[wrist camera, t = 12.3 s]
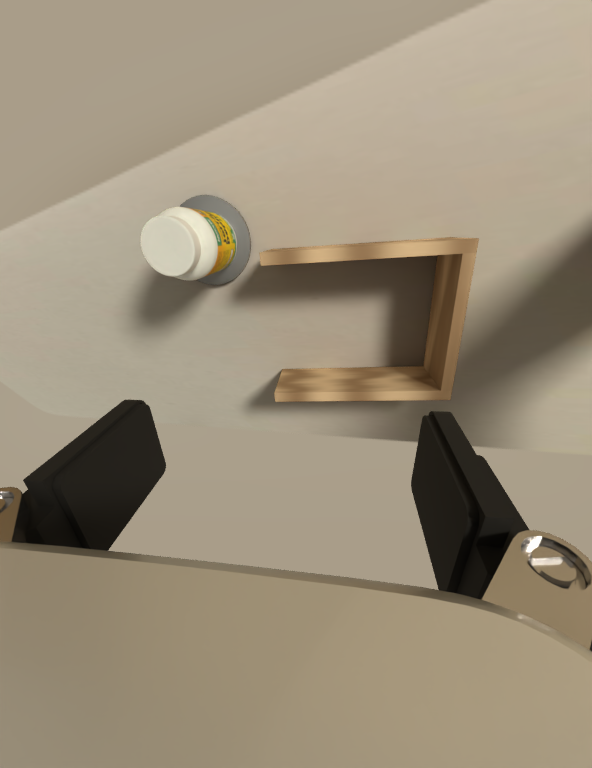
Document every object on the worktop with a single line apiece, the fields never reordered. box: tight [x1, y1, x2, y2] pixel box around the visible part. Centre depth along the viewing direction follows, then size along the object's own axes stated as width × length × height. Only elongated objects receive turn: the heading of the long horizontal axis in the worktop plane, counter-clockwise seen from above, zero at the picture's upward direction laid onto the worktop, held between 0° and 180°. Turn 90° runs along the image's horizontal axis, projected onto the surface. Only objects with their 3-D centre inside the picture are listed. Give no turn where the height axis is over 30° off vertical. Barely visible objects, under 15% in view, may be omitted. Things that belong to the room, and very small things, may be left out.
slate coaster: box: [180, 195, 251, 285], centre depth 31 cm, size 8×8×1 cm
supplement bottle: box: [140, 207, 237, 281], centre depth 26 cm, size 5×5×10 cm
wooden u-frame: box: [260, 237, 479, 402], centre depth 30 cm, size 17×14×6 cm
